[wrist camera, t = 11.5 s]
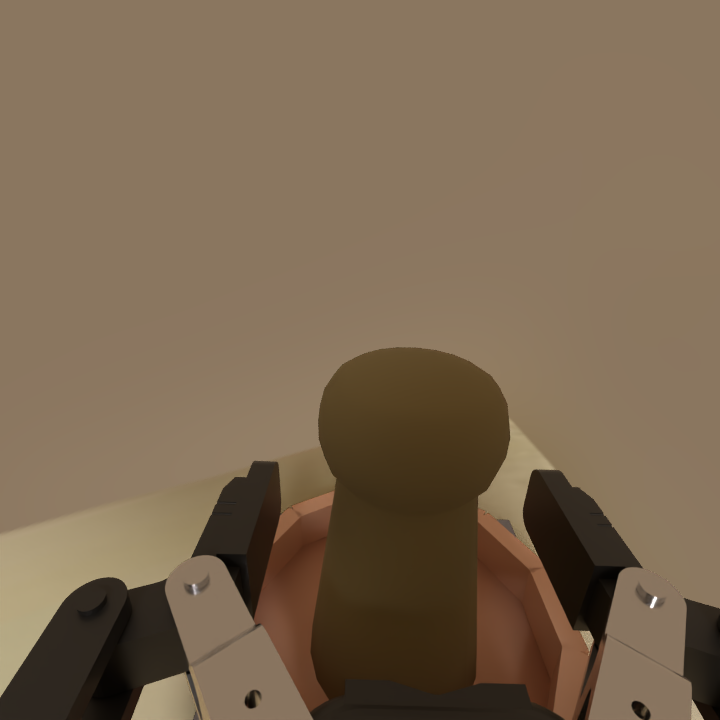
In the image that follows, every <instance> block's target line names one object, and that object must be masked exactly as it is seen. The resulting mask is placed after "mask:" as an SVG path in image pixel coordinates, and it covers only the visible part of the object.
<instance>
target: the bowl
mask: <svg viewBox="0 0 720 720" xmlns="http://www.w3.org/2000/svg"><path fill="white" fill-rule="evenodd" d="M333 497H334V491H332V492H329V493H326V494H323V495H320V496H318V497H315V498H312V499H309V500H306V501H304V502H301V503H298V504H295V505H292V509H291V508H288V509H287V510H285V511H284V512H283V513H282V514H281V515H280V518H279V523H278V527H277V530H276V534H275V538H274V542H273V546H272V550H271V554H270V558H269V562H268V566H267V570H266V573H265V577H264V581H263V585H262V589H261V593H260V597H259V601H258V605H257V609H256V613H255V616H254V620H253V621H254V622H255V624H256V625H257V624H259V623H260V624H262V625H263V627H264V628H265V630H266V631H267V633H268V635H269V637H270V639H271V641H272V643H273V644H274V646H275V648H276V650H277V652H278V654H279V656H280V658H281V660H282V662H283V663H284V665H285V667H286V669H287V671H288V673H289V675H290V677H291V679H292V680H293V682H294V684H295V686H296V688H297V690H298V692H299V694H300V696H301V697H302V699H303V701H304V703H305V705H306V707H307V709H308V711H309V713H310V712H311V711H312V710H313V709H315V708H316V707H318V706H319V705H321V704H322V703H324V702H326V701H328V700H329V699H328V698H327V696H326V694H325V693H324V691H323V689H322V688H321V686H320V684H319V683H318V681H317V678H316V674H315V670H314V666H313V661H312V657H311V653H310V650H311V638H312V625H313V619H314V613H315V607H316V601H317V595H318V589H319V583H320V577H321V571H322V564H323V558H324V552H325V546H326V540H327V534H328V528H329V522H330V516H331V510H332V504H333ZM588 653H589V650H588V648H587V646H586V644H585V642H584V640H583V637H582V635H581V633H580V631H579V630H572V627H571V625H570V623H569V621H568V619H567V617H566V614H565V612H564V610H563V608H562V606H561V604H560V601H559V599H558V597H557V595H556V593H555V591H554V588H553V586H552V584H551V582H550V580H549V578H548V575H547V573H546V571H545V569H544V567H543V565H542V562H541V560H540V558H539V557H538V556H536V555H535V554H534V553H533V552H532V551H531V550H530V549H529V548H527V547H526V546H525V545H524V544H523V543H522V542H521V541H520V540H518V539H517V538H516V537H515V536H514V535H513V534H512V533H510V532H509V531H508V530H507V529H506V528H505V527H504V526H503V525H501V524H500V523H499V522H498V521H497V520H496V519H495V518H494V517H492V516H491V515H490V514H489V513H487V514H485V511H484V510H481V509H479V508H478V551H477V658H476V678H475V681H474V684H473V685H476V684H479V683H499V684H525V685H526V688H527V692H528V695H529V698H530V701H531V702H533V703H536V704H538V705H541V706H543V707H545V708H547V709H549V710H551V711H552V712H554V713H556V714H558V715H559V716H561V717H562V718H563V719H565V720H572V718H573V715H574V711H575V708H576V704H577V700H578V696H579V692H580V689H581V685H582V681H583V677H584V673H585V669H586V665H587V661H588V658H589V656H588Z"/></svg>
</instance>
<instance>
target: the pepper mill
mask: <svg viewBox="0 0 720 720" xmlns="http://www.w3.org/2000/svg"><path fill="white" fill-rule="evenodd" d="M318 424H319V425H318V427H319V441H320V444H321V447H322V450H323V453H324V456H325V459H326V461H327V463H328V466H329V468H330V470H331V472H332V474H333V475H334V476H335V477H336V478H337V479H336V485H335V491H334V497H333V504H332V510H331V516H330V522H329V528H328V534H327V540H326V546H325V552H324V558H323V564H322V571H321V577H320V583H319V589H318V595H317V601H316V607H315V613H314V619H313V625H312V638H311V650H310V653H311V657H312V661H313V666H314V670H315V674H316V678H317V681H318V683H319V684H320V686H321V688H322V689H323V691H324V693H325V694H326V696H327V698H328V699H329V700H331V699H333V698H335V697H338V696H342V695H345V679H361V680H390V681H393V682H396V683H399V684H402V685H406V686H409V687H412V688H415V689H418V690H421V691H424V692H427V693H430V694H434V695H441V694H445V693H448V692H451V691H455V690H458V689H462V688H465V687H469V686H472V685H473V684H474V681H475V678H476V658H477V551H478V496H479V495H480V494H482V493H483V492H485V491H486V490H487V489H488V487H489V486H490V484H491V482H492V481H493V479H494V477H495V476H496V474H497V472H498V470H499V469H500V467H501V465H502V463H503V462H504V460H505V458H506V455H507V450H508V446H509V441H510V429H509V416H508V406H507V402H506V400H505V398H504V396H503V394H502V392H501V390H500V388H499V386H498V385H497V383H496V382H495V381H494V379H493V378H492V376H490V375H489V374H488V373H486V372H485V371H483V370H482V369H480V368H479V367H477V366H475V365H474V364H473V363H471V362H470V361H467V360H465V359H462V358H460V357H458V356H455V355H452V354H449V353H445V352H441V351H437V350H430V349H422V348H399V347H397V348H388V349H379V350H375V351H372V352H368V353H365V354H362V355H360V356H358V357H356V358H354V359H352V360H350V361H348V362H346V363H344V364H343V365H342V366H341V367H340V368H339V369H338V370H337V372H336V373H335V374H334V376H333V377H332V378H331V380H330V381H329V383H328V385H327V386H326V387H325V389H324V393H323V396H322V400H321V404H320V411H319V419H318Z"/></svg>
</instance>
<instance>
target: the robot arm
mask: <svg viewBox="0 0 720 720" xmlns="http://www.w3.org/2000/svg"><path fill="white" fill-rule="evenodd" d="M280 511H281V493H280V477H279V465H278V462H270V461H254V462H253V463H252V465H251V468H250V470H249V473H248V475H247V477H235V478H234V479H233V480H232V481H231V482H230V483H229V484H227V485H226V486H225V487H224V488H223V490H222V492H221V494H220V497H219V499H218V501H217V504H216V505H215V507H214V509H213V512H212V515H211V516H210V518H209V520H208V522H207V525H206V527H205V529H204V531H203V533H202V535H201V537H200V540H199V542H198V544H197V546H196V548H195V550H194V553H193V555H192V557H191V558H190V559H188V560H186V561H184V562H183V563H181V564H180V565H178V566H177V567H176V568H175V569H174V570H173V571H172V572H171V574H170V575H169V577H168V578H167V579H165V580H163V581H160V582H157V583H154V584H150V585H146V586H142V587H138V588H134V589H130V590H127V587H126V585H125V583H124V582H123V581H121V580H119V579H117V578H110V577H107V578H100V579H96V580H93V581H91V582H89V583H86V584H84V585H83V586H81V587H79V588H78V589H76V590H75V591H74V592H73V593H71V594H70V595H69V596H68V597H67V598H66V599H65V600H64V602H63V603H62V604H61V606H60V607H59V609H58V610H57V612H56V613H55V615H54V616H53V618H52V619H51V621H50V622H49V624H48V626H47V627H46V629H45V630H44V632H43V633H42V635H41V636H40V638H39V639H38V641H37V642H36V644H35V645H34V647H33V648H32V650H31V651H30V653H29V655H28V656H27V658H26V659H25V661H24V662H23V664H22V665H21V667H20V668H19V670H18V671H17V673H16V674H15V676H14V677H13V679H12V681H11V682H10V684H9V685H8V687H7V688H6V690H5V691H4V693H3V694H2V696H1V697H0V720H131V718H132V715H133V713H134V710H135V707H136V705H137V702H138V700H139V697H140V694H141V692H142V689H143V687H144V685H146V684H149V683H152V682H156V681H159V680H162V679H165V678H168V677H171V676H174V675H177V674H180V673H185V676H186V679H187V682H188V685H189V688H190V691H191V695H192V698H193V701H194V704H195V707H196V710H197V713H198V716H199V720H565V719H563V718H562V717H561V716H559V715H558V714H556V713H554V712H552V711H551V710H549V709H547V708H545V707H543V706H541V705H538V704H536V703H533V702H531V701H530V698H529V695H528V692H527V688H526V685H525V684H499V683H479V684H476V685H472V686H469V687H465V688H462V689H458V690H455V691H451V692H448V693H445V694H441V695H434V694H430V693H427V692H424V691H421V690H418V689H415V688H412V687H409V686H406V685H402V684H399V683H396V682H393V681H390V680H361V679H345V695H342V696H338V697H335V698H333V699H331V700H328V701H326V702H324V703H322V704H321V705H319V706H318V707H316V708H315V709H313V710H312V711H311V712H310V713H309V711H308V709H307V707H306V705H305V703H304V701H303V699H302V697H301V696H300V694H299V692H298V690H297V688H296V686H295V684H294V682H293V680H292V679H291V677H290V675H289V673H288V671H287V669H286V667H285V665H284V663H283V662H282V660H281V658H280V656H279V654H278V652H277V650H276V648H275V646H274V644H273V643H272V641H271V639H270V637H269V635H268V633H267V631H266V630H265V628H264V627H263V625H262V624H260V623H259V624H257V625H256V624H255V622H254V621H253V620H254V616H255V613H256V609H257V605H258V601H259V597H260V593H261V589H262V585H263V581H264V577H265V573H266V570H267V566H268V562H269V558H270V554H271V550H272V546H273V542H274V538H275V534H276V530H277V527H278V523H279V518H280ZM523 519H524V524H525V527H526V530H527V532H528V534H529V536H530V539H531V541H532V543H533V545H534V547H535V549H536V552H537V554H538V556H539V558H540V560H541V562H542V565H543V567H544V569H545V571H546V573H547V575H548V578H549V580H550V582H551V584H552V586H553V588H554V591H555V593H556V595H557V597H558V599H559V601H560V604H561V606H562V608H563V610H564V612H565V614H566V617H567V619H568V621H569V623H570V625H571V627H572V630H579V631H590V632H591V634H592V636H593V638H594V641H593V644H592V646H591V650H590V654H589V658H588V661H587V665H586V669H585V673H584V677H583V681H582V685H581V689H580V692H579V696H578V700H577V704H576V708H575V711H574V715H573V718H572V720H691V705H692V700H693V701H694V703H695V705H696V707H697V708H698V710H699V712H700V713H701V715H702V717H703V719H704V720H720V609H719V608H716V607H712V606H709V605H705V604H702V603H698V602H695V601H691V600H688V599H685V598H683V596H682V595H681V593H680V592H679V591H678V590H677V589H676V588H675V587H674V586H673V585H672V584H671V583H670V582H669V581H667V580H666V579H664V578H663V577H661V576H660V575H658V574H656V573H654V572H651V571H649V570H646V569H643V568H642V566H641V565H640V563H639V562H638V561H637V559H636V558H635V556H634V555H633V554H632V552H631V551H630V549H629V548H628V547H627V546H626V544H625V543H624V541H623V540H622V539H621V537H620V536H619V534H618V533H617V531H616V530H615V529H614V527H613V528H612V526H611V525H612V524H611V523H610V522H609V520H608V519H607V517H606V516H604V515H603V512H602V510H601V509H600V508H599V507H598V505H597V504H596V502H595V501H594V499H592V498H591V497H590V496H589V495H587V494H586V493H585V492H583V491H582V490H581V489H580V488H578V487H572V486H571V485H570V484H569V482H568V481H567V479H566V478H565V476H564V475H563V473H562V472H561V471H559V470H533V471H532V473H531V477H530V481H529V485H528V489H527V494H526V498H525V502H524V507H523Z"/></svg>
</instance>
